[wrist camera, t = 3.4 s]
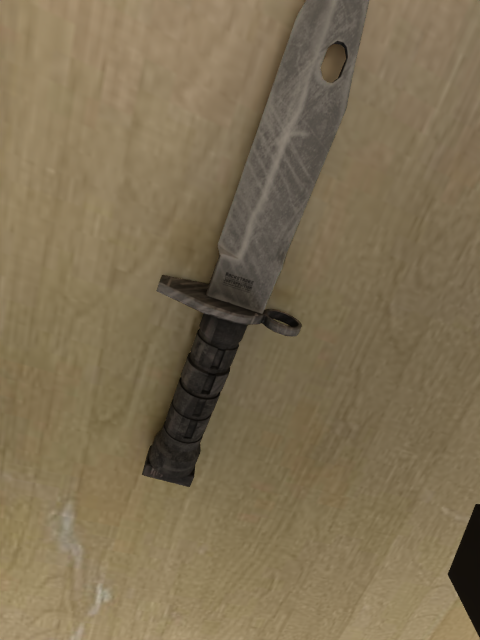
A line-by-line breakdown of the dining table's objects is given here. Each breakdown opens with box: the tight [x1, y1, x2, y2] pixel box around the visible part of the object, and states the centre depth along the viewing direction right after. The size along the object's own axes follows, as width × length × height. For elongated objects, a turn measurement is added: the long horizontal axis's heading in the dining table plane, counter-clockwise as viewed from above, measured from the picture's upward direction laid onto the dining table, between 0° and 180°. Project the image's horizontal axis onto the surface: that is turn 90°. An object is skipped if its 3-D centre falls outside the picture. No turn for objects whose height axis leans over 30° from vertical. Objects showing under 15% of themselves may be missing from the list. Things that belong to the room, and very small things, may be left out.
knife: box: [142, 0, 369, 487], centre depth 14 cm, size 19×2×5 cm
